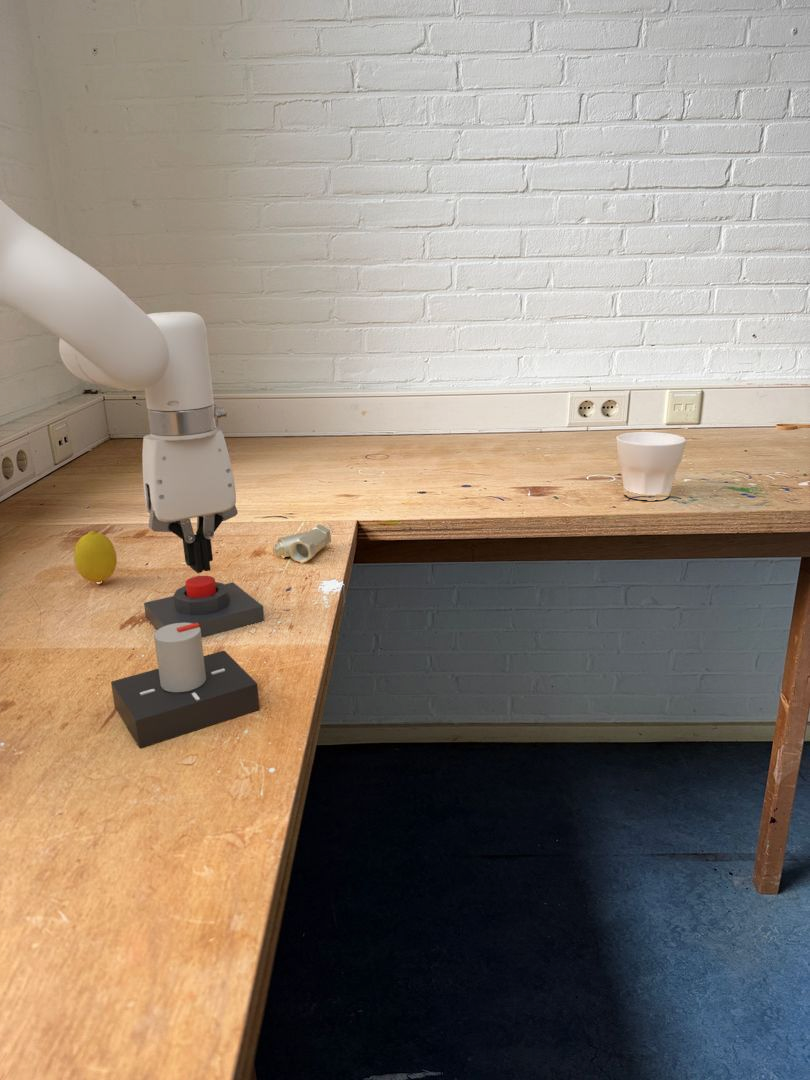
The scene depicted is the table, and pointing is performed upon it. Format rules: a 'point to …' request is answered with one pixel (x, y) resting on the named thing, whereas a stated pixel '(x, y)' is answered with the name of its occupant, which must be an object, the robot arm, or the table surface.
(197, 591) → the power button
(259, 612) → the switch block
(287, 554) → the pipe fitting
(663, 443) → the cup
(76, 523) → the table surface
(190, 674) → the timer dial
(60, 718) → the table surface
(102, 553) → the lemon
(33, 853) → the table surface
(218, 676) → the panel
